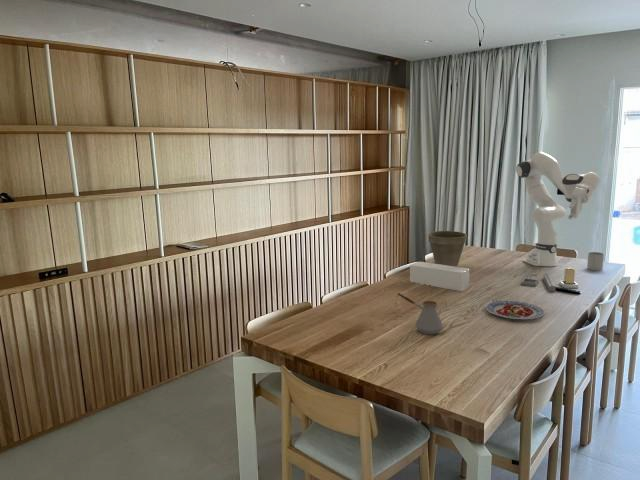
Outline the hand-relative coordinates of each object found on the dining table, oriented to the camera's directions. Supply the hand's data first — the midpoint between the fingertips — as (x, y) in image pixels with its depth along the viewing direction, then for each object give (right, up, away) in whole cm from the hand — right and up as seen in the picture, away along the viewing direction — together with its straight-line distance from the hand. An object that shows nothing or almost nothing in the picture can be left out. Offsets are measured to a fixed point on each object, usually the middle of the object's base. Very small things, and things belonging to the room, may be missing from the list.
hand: (570, 213), depth 259 cm
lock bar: (+1, -41, +3) cm, 41 cm away
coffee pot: (-95, -54, -53) cm, 122 cm away
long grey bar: (-9, -41, +6) cm, 42 cm away
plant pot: (-53, -32, +57) cm, 84 cm away
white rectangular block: (-69, -41, +14) cm, 82 cm away
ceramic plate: (-46, -50, -37) cm, 77 cm away
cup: (+36, -34, +38) cm, 62 cm away
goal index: (-18, -40, +9) cm, 45 cm away
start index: (+1, -41, +3) cm, 41 cm away
